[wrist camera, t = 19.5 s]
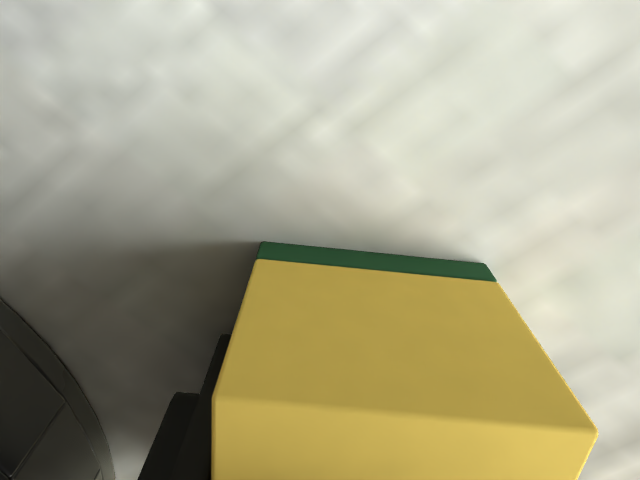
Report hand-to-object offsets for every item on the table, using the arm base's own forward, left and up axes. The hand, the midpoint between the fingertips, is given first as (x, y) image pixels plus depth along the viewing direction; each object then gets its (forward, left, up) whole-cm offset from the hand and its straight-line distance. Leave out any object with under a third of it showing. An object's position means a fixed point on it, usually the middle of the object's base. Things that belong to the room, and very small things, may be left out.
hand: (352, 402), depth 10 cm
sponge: (0, 0, -1) cm, 1 cm away
